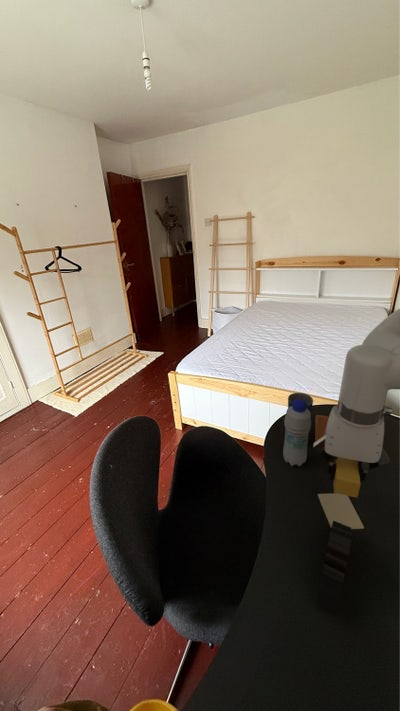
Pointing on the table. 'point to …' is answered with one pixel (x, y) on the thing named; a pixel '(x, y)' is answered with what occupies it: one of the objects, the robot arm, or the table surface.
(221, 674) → the table surface
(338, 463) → the yellow block
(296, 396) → the cup
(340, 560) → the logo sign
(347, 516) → the cloth
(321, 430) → the brown wooden tray
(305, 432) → the bottle
